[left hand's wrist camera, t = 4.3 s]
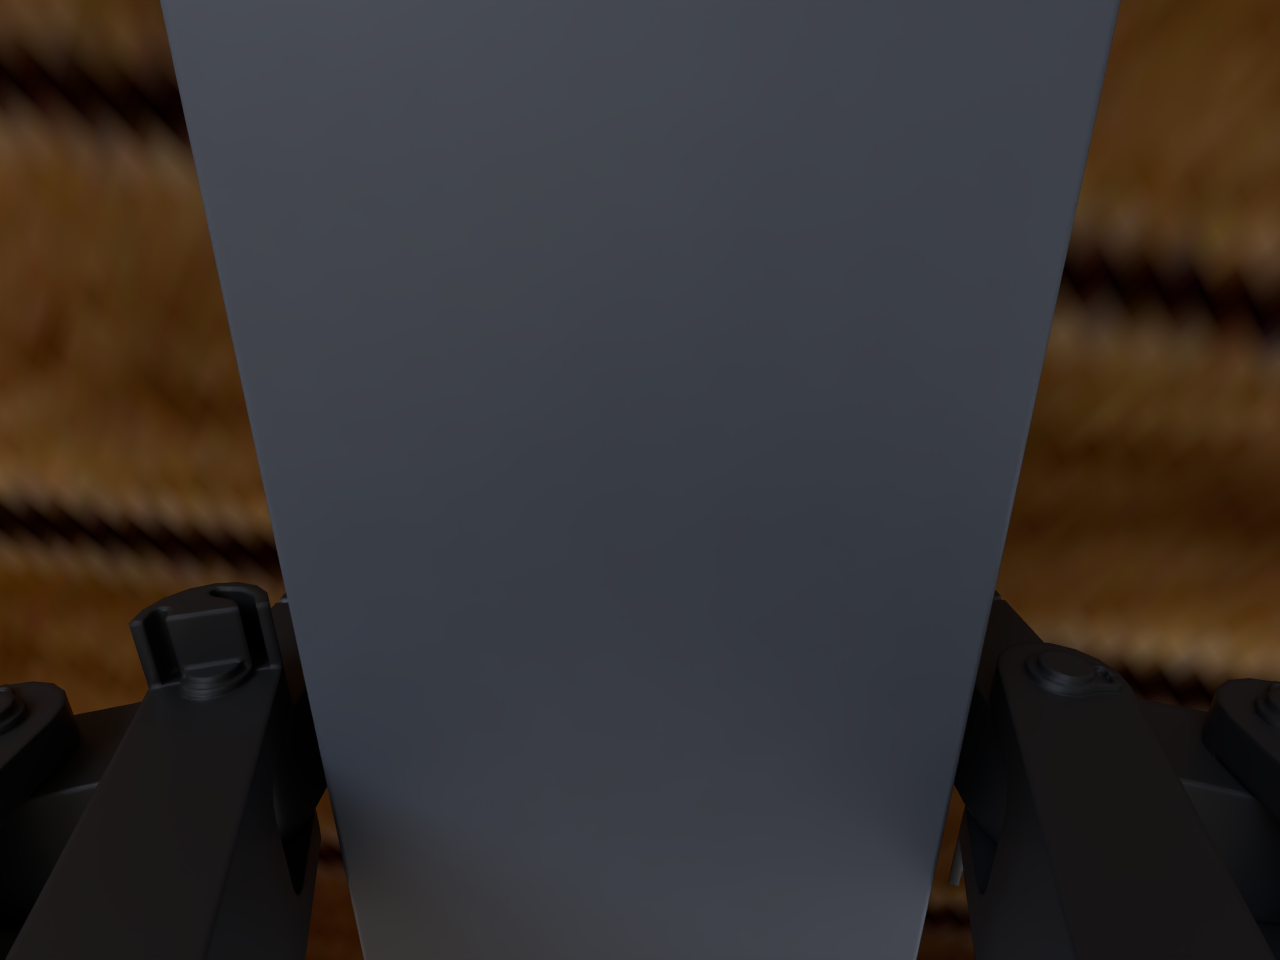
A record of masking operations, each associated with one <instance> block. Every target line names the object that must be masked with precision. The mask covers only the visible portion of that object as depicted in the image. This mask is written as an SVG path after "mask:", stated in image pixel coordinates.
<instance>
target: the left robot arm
mask: <svg viewBox="0 0 1280 960" xmlns="http://www.w3.org/2000/svg"><path fill="white" fill-rule="evenodd" d="M129 626H130V629H131V632H132V636H133V639H134V642H135V645H136V648H137V652H138V655H139V658H140V661H141V664H142V668H143V671H144V674H145V677H146V680H147V683H148V687H149V689H148V691H147V693H146V695H145V697H144V699H143V701H142V702H138V703H134V704H129V705H124V706H118V707H113V708H108V709H103V710H98V711H93V712H88V713H82V714H77V715H73V712H72V709H71V707H70V704H69V701H68V699H67V696H66V693H65V691H64V690H63V689H61V688H60V687H58V686H57V685H55V684H54V683H44V682H33V681H32V682H25V683H18V684H11V685H1V686H0V960H305V956H306V949H307V941H308V934H309V926H310V919H311V911H312V903H313V896H314V888H315V881H316V873H317V865H318V858H319V850H320V843H321V834H320V827H319V821H318V817H317V812H316V806H317V804H318V803H319V801H320V799H321V797H322V795H323V793H324V791H325V790H326V788H327V782H326V777H325V773H324V768H323V763H322V759H321V754H320V749H319V745H318V740H317V735H316V730H315V726H314V721H313V716H312V712H311V707H310V702H309V698H308V693H307V688H306V683H305V679H304V674H303V669H302V665H301V660H300V655H299V651H298V646H297V641H296V637H295V632H294V627H293V622H292V618H291V613H290V608H289V604H288V599H287V594H286V593H285V594H284V595H283V596H282V597H281V598H280V603H276V604H275V605H274V606H273V607H272V608H271V607H270V603H269V598H268V594H267V592H266V591H264V590H263V589H261V588H260V587H258V586H257V585H251V584H246V583H240V582H234V583H215V584H210V585H206V586H201V587H196V588H191V589H188V590H185V591H182V592H179V593H177V594H174V595H171V596H168V597H166V598H163V599H161V600H160V601H158V602H156V603H154V604H152V605H151V606H149V607H147V608H145V609H144V610H142V611H141V612H140V613H139V614H138V615H137V616H136V617H135V618H134V619H133V620H132V621H131V622H130V623H129ZM954 785H955V787H956V789H957V791H958V792H959V794H960V796H961V798H962V800H963V802H964V803H965V808H964V812H963V817H962V821H961V826H960V830H959V835H958V839H957V844H956V848H955V853H954V857H953V861H952V866H951V871H950V878H949V884H951V885H955V886H959V882H960V878H961V874H962V871H964V879H965V886H966V894H967V901H968V909H969V917H970V924H971V932H972V939H973V947H974V954H975V960H1280V682H1277V681H1273V682H1272V681H1265V680H1258V679H1251V678H1247V679H1236V680H1228V681H1226V682H1225V683H1223V684H1222V685H1220V686H1219V687H1217V689H1216V692H1215V695H1214V697H1213V700H1212V703H1211V706H1210V708H1209V711H1208V712H1205V711H1199V710H1194V709H1189V708H1184V707H1179V706H1173V705H1168V704H1163V703H1158V702H1153V701H1148V700H1143V699H1139V698H1137V697H1136V696H1135V694H1134V692H1133V690H1132V688H1131V687H1130V686H1129V684H1128V683H1127V682H1126V681H1125V680H1124V679H1123V677H1122V676H1121V675H1120V674H1119V673H1118V672H1117V671H1115V670H1114V669H1112V668H1111V667H1109V666H1108V665H1106V664H1105V663H1103V662H1102V661H1100V660H1099V659H1096V658H1094V657H1092V656H1089V655H1087V654H1085V653H1082V652H1080V651H1078V650H1075V649H1072V648H1068V647H1064V646H1059V645H1055V644H1051V643H1044V642H1043V641H1042V640H1041V639H1040V638H1039V637H1038V636H1037V635H1036V633H1035V632H1034V631H1033V630H1032V629H1031V628H1030V627H1029V626H1028V625H1027V624H1026V623H1025V622H1024V621H1023V619H1022V618H1021V617H1020V616H1019V615H1018V614H1017V613H1016V612H1015V611H1014V610H1013V609H1012V608H1011V607H1010V605H1009V604H1008V603H1007V602H1006V601H1005V600H1001V596H1000V595H999V594H998V592H997V591H996V590H995V592H994V597H993V601H992V606H991V611H990V616H989V620H988V625H987V630H986V634H985V639H984V644H983V648H982V653H981V658H980V662H979V667H978V672H977V677H976V681H975V686H974V691H973V695H972V700H971V705H970V709H969V714H968V719H967V724H966V728H965V733H964V738H963V742H962V747H961V752H960V756H959V761H958V766H957V770H956V775H955V780H954Z"/></svg>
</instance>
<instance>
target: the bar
mask: <svg viewBox="0 0 1280 960" xmlns="http://www.w3.org/2000/svg"><path fill="white" fill-rule="evenodd" d="M1120 1H1121V0H160V3H161V7H162V12H163V17H164V21H165V26H166V31H167V35H168V40H169V45H170V49H171V54H172V59H173V64H174V68H175V73H176V78H177V82H178V87H179V92H180V96H181V101H182V106H183V111H184V115H185V120H186V125H187V129H188V134H189V139H190V143H191V148H192V153H193V158H194V162H195V167H196V172H197V176H198V181H199V186H200V190H201V195H202V200H203V204H204V209H205V214H206V219H207V223H208V228H209V233H210V237H211V242H212V247H213V251H214V256H215V261H216V266H217V270H218V275H219V280H220V284H221V289H222V294H223V298H224V303H225V308H226V312H227V317H228V322H229V327H230V331H231V336H232V341H233V345H234V350H235V355H236V359H237V364H238V369H239V374H240V378H241V383H242V388H243V392H244V397H245V402H246V406H247V411H248V416H249V420H250V425H251V430H252V435H253V439H254V444H255V449H256V453H257V458H258V463H259V467H260V472H261V477H262V482H263V486H264V491H265V496H266V500H267V505H268V510H269V514H270V519H271V524H272V528H273V533H274V538H275V543H276V547H277V552H278V557H279V561H280V566H281V571H282V575H283V580H284V585H285V590H286V594H287V599H288V604H289V608H290V613H291V618H292V622H293V627H294V632H295V637H296V641H297V646H298V651H299V655H300V660H301V665H302V669H303V674H304V679H305V683H306V688H307V693H308V698H309V702H310V707H311V712H312V716H313V721H314V726H315V730H316V735H317V740H318V745H319V749H320V754H321V759H322V763H323V768H324V773H325V777H326V782H327V787H328V791H329V796H330V801H331V806H332V810H333V815H334V820H335V824H336V829H337V834H338V838H339V843H340V848H341V853H342V857H343V862H344V867H345V871H346V876H347V881H348V885H349V890H350V895H351V899H352V904H353V909H354V914H355V918H356V923H357V928H358V932H359V937H360V942H361V946H362V951H363V956H364V960H916V958H917V953H918V949H919V944H920V939H921V935H922V930H923V925H924V921H925V916H926V911H927V907H928V902H929V897H930V892H931V888H932V883H933V878H934V874H935V869H936V864H937V860H938V855H939V850H940V846H941V841H942V836H943V831H944V827H945V822H946V817H947V813H948V808H949V803H950V799H951V794H952V789H953V785H954V780H955V775H956V770H957V766H958V761H959V756H960V752H961V747H962V742H963V738H964V733H965V728H966V724H967V719H968V714H969V709H970V705H971V700H972V695H973V691H974V686H975V681H976V677H977V672H978V667H979V662H980V658H981V653H982V648H983V644H984V639H985V634H986V630H987V625H988V620H989V616H990V611H991V606H992V601H993V597H994V592H995V587H996V583H997V578H998V573H999V569H1000V564H1001V559H1002V555H1003V550H1004V545H1005V540H1006V536H1007V531H1008V526H1009V522H1010V517H1011V512H1012V508H1013V503H1014V498H1015V494H1016V489H1017V484H1018V479H1019V475H1020V470H1021V465H1022V461H1023V456H1024V451H1025V447H1026V442H1027V437H1028V433H1029V428H1030V423H1031V418H1032V414H1033V409H1034V404H1035V400H1036V395H1037V390H1038V386H1039V381H1040V376H1041V372H1042V367H1043V362H1044V357H1045V353H1046V348H1047V343H1048V339H1049V334H1050V329H1051V325H1052V320H1053V315H1054V310H1055V306H1056V301H1057V296H1058V292H1059V287H1060V282H1061V278H1062V273H1063V268H1064V264H1065V259H1066V254H1067V249H1068V245H1069V240H1070V235H1071V231H1072V226H1073V221H1074V217H1075V212H1076V207H1077V203H1078V198H1079V193H1080V188H1081V184H1082V179H1083V174H1084V170H1085V165H1086V160H1087V156H1088V151H1089V146H1090V142H1091V137H1092V132H1093V127H1094V123H1095V118H1096V113H1097V109H1098V104H1099V99H1100V95H1101V90H1102V85H1103V81H1104V76H1105V71H1106V66H1107V62H1108V57H1109V52H1110V48H1111V43H1112V38H1113V34H1114V29H1115V24H1116V19H1117V15H1118V10H1119V5H1120Z"/></svg>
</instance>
